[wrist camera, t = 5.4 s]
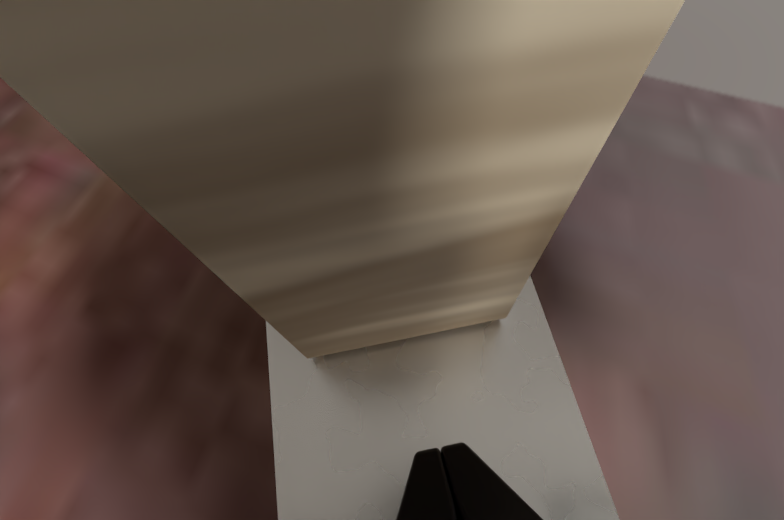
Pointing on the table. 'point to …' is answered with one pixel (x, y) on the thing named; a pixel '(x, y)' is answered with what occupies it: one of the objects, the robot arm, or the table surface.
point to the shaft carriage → (343, 139)
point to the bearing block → (431, 419)
